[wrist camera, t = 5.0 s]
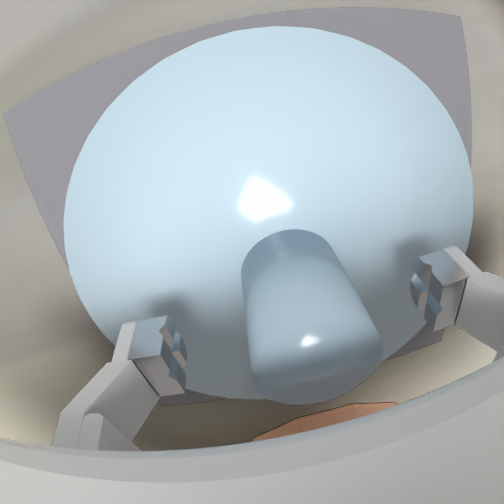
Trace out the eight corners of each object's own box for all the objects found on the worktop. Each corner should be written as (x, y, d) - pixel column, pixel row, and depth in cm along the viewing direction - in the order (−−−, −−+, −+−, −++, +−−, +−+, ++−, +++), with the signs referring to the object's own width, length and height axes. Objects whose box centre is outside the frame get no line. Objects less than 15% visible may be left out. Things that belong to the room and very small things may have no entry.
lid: (167, 401, 16) (163, 484, 11) (15, 122, 8) (-90, 173, 3) (435, 336, 15) (477, 406, 11) (451, 25, 7) (563, 31, 3)
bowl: (260, 482, 26) (267, 541, 20) (220, 431, 19) (226, 526, 13) (393, 450, 26) (411, 505, 20) (421, 380, 18) (460, 463, 12)
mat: (162, 397, 16) (162, 406, 16) (12, 110, 8) (3, 113, 7) (436, 333, 16) (440, 340, 15) (450, 17, 7) (460, 16, 7)
